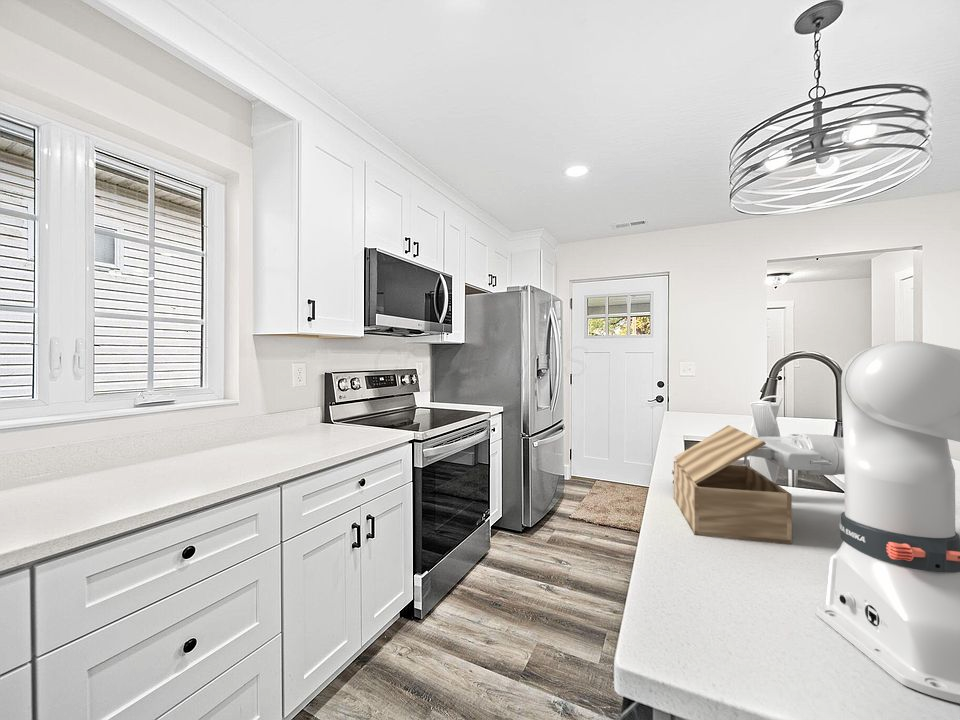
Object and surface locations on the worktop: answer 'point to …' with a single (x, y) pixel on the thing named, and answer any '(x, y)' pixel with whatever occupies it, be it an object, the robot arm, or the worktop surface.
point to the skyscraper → (764, 435)
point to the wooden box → (735, 505)
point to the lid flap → (717, 452)
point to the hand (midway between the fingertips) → (743, 450)
